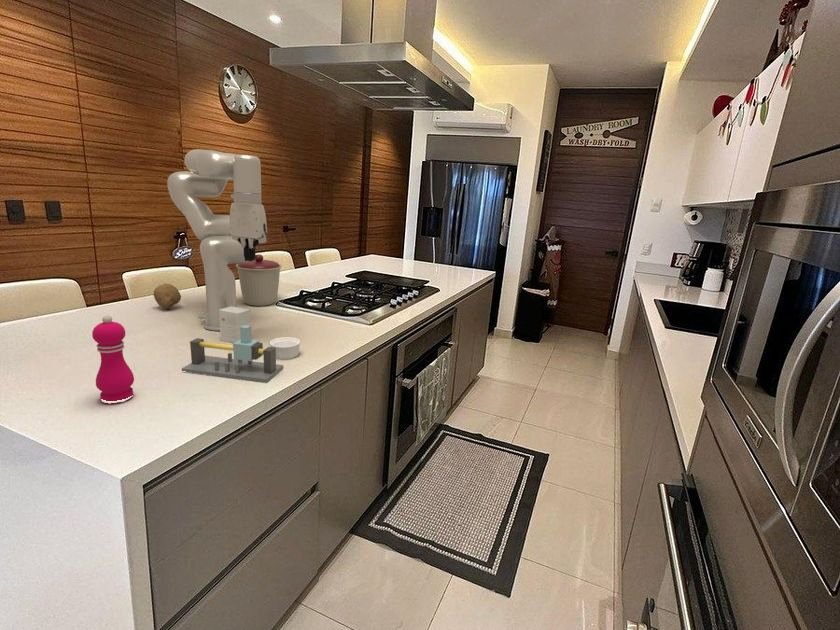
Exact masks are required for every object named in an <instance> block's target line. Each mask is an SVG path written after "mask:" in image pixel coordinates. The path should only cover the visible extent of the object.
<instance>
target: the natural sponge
mask: <svg viewBox="0 0 840 630" xmlns="http://www.w3.org/2000/svg"><path fill="white" fill-rule="evenodd" d="M153 298H154V300H155V302H156V303H157V305H158V306H159V307H160V308H162V309H164V310H169V309H171V308H172V307H173V306H175V305H177V304H179V303H180V301H181V299H182V296H181V292H180V291H179V289H178V288H177V287H176V286H174V285H172V284H170V283H163V284H159V285H158V286H157V287H156V288H155V289H154V290H153Z"/></svg>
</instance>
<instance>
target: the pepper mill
mask: <svg viewBox="0 0 840 630" xmlns="http://www.w3.org/2000/svg"><path fill="white" fill-rule="evenodd" d="M101 321H102V322H100V323H98V324H97V325H95V326H94V328H93V330H92V332H91V333H92V339H93V340H94V342H95V343H97V344H96V348H97V349H96V350H97V352H98V353H99V354H100V366H99V369H98V371H97V374H96V377H95V386H96V388H97V389H98V390H99V391H101V392H100V393H99V398H100V400H101V399H103V400H106V401H117V400H122V399H126V398H128V397H130V396H132V395H133V394H134V389H133V387H132V385H134V382H135V377H134V373H133V371H132V369H131V368H130V366H129V365H128V364H127V362H126V360H125V358H124V353H123V352H124V351H123V350H124V349H125V345H124V344H125V342H124V338H126V337H125V336H126V329H125V327H124V326H123V325H122V324H121V323H119V322H117V321H113V318H112V316H110V315H103V317H102V319H101ZM133 396H134V395H133Z"/></svg>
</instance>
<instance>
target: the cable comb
mask: <svg viewBox="0 0 840 630" xmlns="http://www.w3.org/2000/svg"><path fill="white" fill-rule="evenodd" d="M189 347H190V357H191V358H190V359H191V363H189V364H187V365H185V366H183V367H182V368H181V372H182V371H186V372H192V373H191V374H194V373H199V374H198V375H202V374H206V375H205V376H209V375H212V376H211V377H217V376H218V377H219V378H225V377H226V378H225V379H234V380H240V379H241V381H250V382H257V383H264V384H265V383H266V384H267V383H268V382H270V381H271V380H272V379H274V377H276V376H277V375H278V374H279V373H280V372H281V371H282V370H283V369H284V365H283V364H277V358H276V348H275V347H271V346H268V347H266V348H263V347H264V345H263V342H260V341H259V342H258V343H257V344H255V345H253V346H252V359H254V360H252V361H245V360H237V359H234V358H233V353H232V352H233V344H232V345H230V344H223V343H215V342H208V341H207V342H206V341H205V339H204V338H199V337H196V338H195V339H193V340H190V341H189ZM205 348H208V349H215V350H216V349H218V350H225V351H232V352H228V353H227V357H219V356H211V355H206V354H205ZM261 357H263V362H259V361H257V360H258V359H260V358H261ZM186 372H185V373H186ZM218 377H217V378H218Z"/></svg>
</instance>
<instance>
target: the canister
mask: <svg viewBox="0 0 840 630" xmlns="http://www.w3.org/2000/svg"><path fill="white" fill-rule="evenodd" d="M235 267H236V268H237V272H238V279H239V285H240V291H241V296H242V300H243V302H244V303H245V304H246V305H249V306H255V307H264V306H265V307H266V306H271V305H273V304H274V303H276V301H277V299H278V295H279V294H278V293H279V284H280V273H281V268H282V264H280V263H279V262H277V261H274V260H268V259H264V255H263V254H259V253H256V257H255V260H253V261H250V262H246V263H236V264H235Z"/></svg>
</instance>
